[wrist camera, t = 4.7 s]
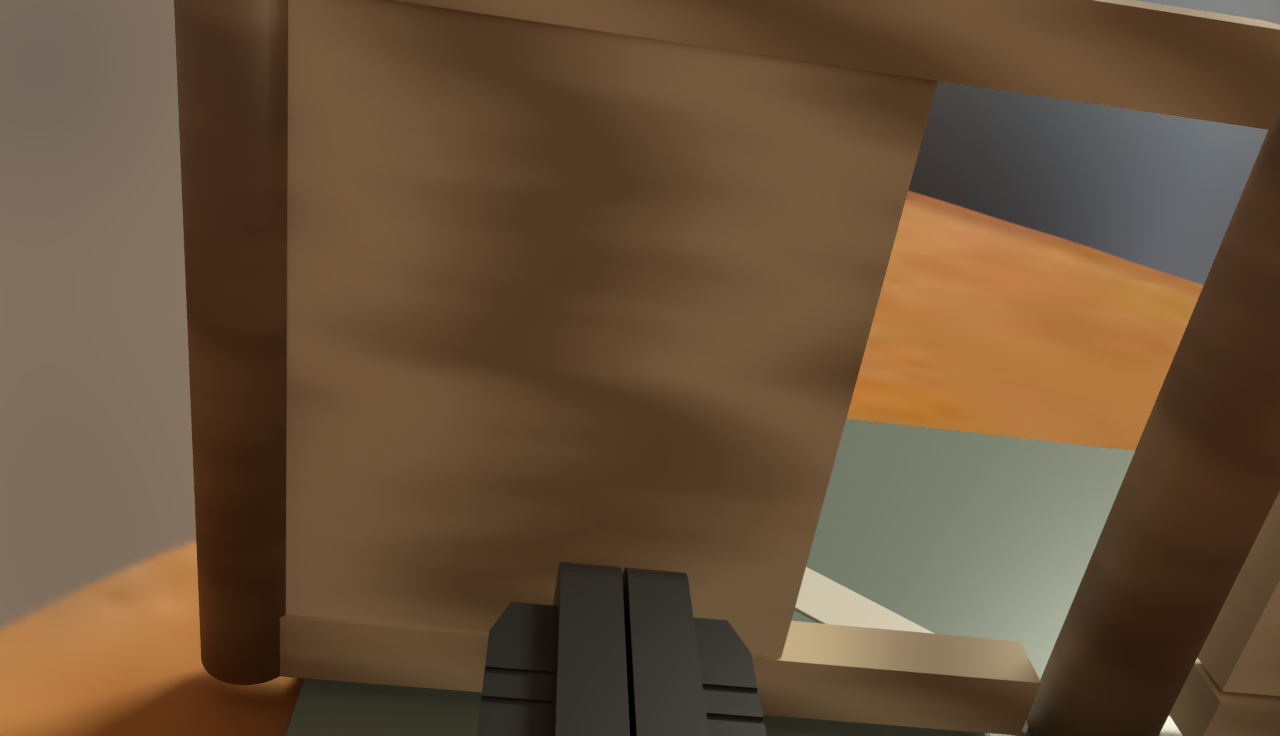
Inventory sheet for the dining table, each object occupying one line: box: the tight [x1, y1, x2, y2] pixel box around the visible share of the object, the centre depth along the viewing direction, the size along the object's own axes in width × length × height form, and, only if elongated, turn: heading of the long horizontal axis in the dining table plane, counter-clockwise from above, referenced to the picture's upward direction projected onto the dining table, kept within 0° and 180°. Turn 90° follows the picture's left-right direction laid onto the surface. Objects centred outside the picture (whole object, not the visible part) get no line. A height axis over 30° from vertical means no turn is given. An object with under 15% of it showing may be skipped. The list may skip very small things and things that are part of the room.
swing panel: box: [174, 0, 1280, 736], centre depth 18 cm, size 16×2×14 cm, turn 92°
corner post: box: [1027, 113, 1280, 736], centre depth 19 cm, size 2×2×16 cm
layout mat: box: [285, 419, 1183, 736], centre depth 25 cm, size 28×20×1 cm
